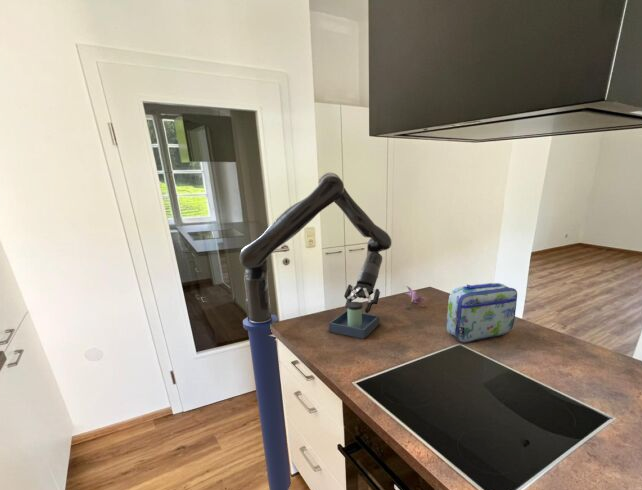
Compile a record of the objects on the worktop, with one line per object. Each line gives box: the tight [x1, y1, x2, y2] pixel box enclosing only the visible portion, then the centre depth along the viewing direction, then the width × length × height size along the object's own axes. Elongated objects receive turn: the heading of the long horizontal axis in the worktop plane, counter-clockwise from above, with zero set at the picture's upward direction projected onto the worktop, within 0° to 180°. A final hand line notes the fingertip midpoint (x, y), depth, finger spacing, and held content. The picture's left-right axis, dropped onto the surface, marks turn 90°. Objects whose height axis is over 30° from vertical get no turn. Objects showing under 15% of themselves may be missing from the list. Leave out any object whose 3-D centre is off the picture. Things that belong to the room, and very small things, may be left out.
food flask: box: [346, 301, 363, 328], centre depth 144 cm, size 6×6×10 cm
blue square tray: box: [328, 309, 380, 340], centre depth 145 cm, size 15×15×4 cm
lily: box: [405, 285, 428, 309], centre depth 168 cm, size 12×12×10 cm
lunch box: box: [446, 282, 518, 344], centre depth 137 cm, size 26×11×21 cm, turn 108°
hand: (356, 310), depth 145 cm, fingers open, 8 cm apart
